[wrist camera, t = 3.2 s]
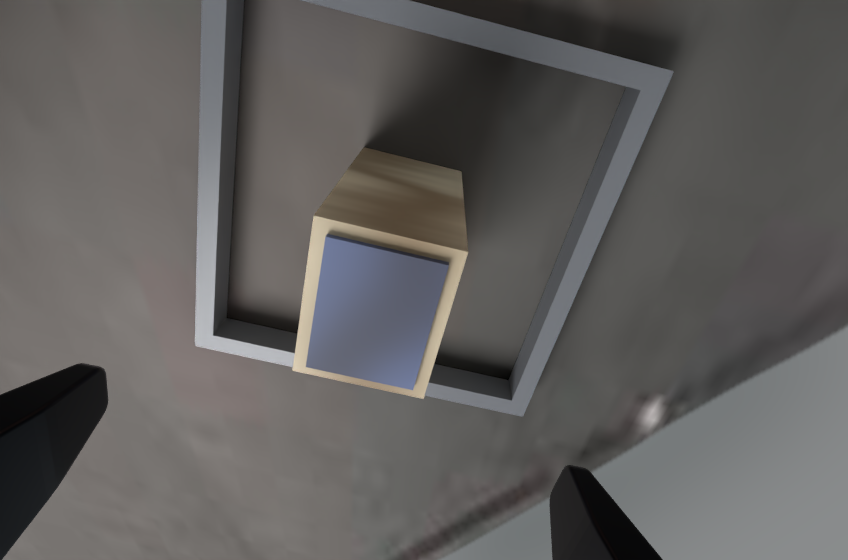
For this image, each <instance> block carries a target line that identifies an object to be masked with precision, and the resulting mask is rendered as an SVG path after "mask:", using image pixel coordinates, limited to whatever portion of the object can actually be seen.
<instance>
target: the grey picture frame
mask: <svg viewBox="0 0 848 560" xmlns="http://www.w3.org/2000/svg"><path fill="white" fill-rule="evenodd" d="M302 1H306V2H309V3H313V4H317V5H321V6H325V7H328V8H332V9H336V10H340V11H343V12H347V13H351V14H355V15H358V16H362V17H366V18H370V19H374V20H377V21H381V22H385V23H389V24H392V25H396V26H400V27H404V28H407V29H411V30H415V31H419V32H423V33H426V34H430V35H434V36H438V37H441V38H445V39H449V40H453V41H456V42H460V43H464V44H468V45H472V46H475V47H479V48H483V49H487V50H490V51H494V52H498V53H502V54H506V55H509V56H513V57H517V58H521V59H524V60H528V61H532V62H536V63H539V64H543V65H547V66H551V67H555V68H558V69H562V70H566V71H570V72H573V73H577V74H581V75H585V76H588V77H592V78H596V79H600V80H604V81H607V82H611V83H615V84H619V85H622V86H626V88H625V91H624V93H623V96H622V98H621V101H620V103H619V106H618V108H617V111H616V113H615V116H614V118H613V121H612V123H611V126H610V128H609V131H608V133H607V136H606V138H605V141H604V143H603V146H602V148H601V151H600V153H599V156H598V158H597V161H596V163H595V166H594V168H593V171H592V173H591V176H590V178H589V181H588V183H587V186H586V188H585V191H584V193H583V195H582V198H581V200H580V203H579V205H578V208H577V210H576V213H575V215H574V218H573V220H572V223H571V225H570V228H569V230H568V233H567V235H566V238H565V240H564V243H563V245H562V248H561V250H560V253H559V255H558V258H557V260H556V263H555V265H554V268H553V270H552V273H551V275H550V278H549V280H548V283H547V285H546V288H545V290H544V293H543V295H542V298H541V300H540V303H539V305H538V308H537V310H536V313H535V315H534V318H533V320H532V323H531V325H530V328H529V330H528V333H527V335H526V338H525V340H524V343H523V345H522V348H521V350H520V353H519V355H518V358H517V360H516V363H515V365H514V368H513V370H512V373H511V375H510V377H509V380H505V379H501V378H496V377H492V376H487V375H483V374H478V373H474V372H469V371H465V370H460V369H456V368H451V367H446V366H442V365H437V364H434V366H433V369H432V372H431V376H430V379H429V382H428V385H427V389H426V392H425V396H429V397H434V398H439V399H443V400H448V401H452V402H457V403H462V404H466V405H471V406H476V407H480V408H485V409H489V410H494V411H499V412H503V413H508V414H513V415H517V416H522V417H523V415H524V413H525V410H526V408H527V406H528V404H529V401H530V399H531V397H532V394H533V392H534V390H535V388H536V385H537V383H538V381H539V378H540V376H541V374H542V372H543V369H544V367H545V365H546V362H547V360H548V358H549V356H550V353H551V351H552V349H553V346H554V344H555V342H556V340H557V337H558V335H559V333H560V330H561V328H562V326H563V324H564V321H565V319H566V317H567V314H568V312H569V310H570V308H571V305H572V303H573V301H574V299H575V296H576V294H577V292H578V289H579V287H580V285H581V283H582V280H583V278H584V276H585V273H586V271H587V269H588V267H589V264H590V262H591V260H592V257H593V255H594V253H595V251H596V248H597V246H598V244H599V241H600V239H601V237H602V235H603V232H604V230H605V228H606V225H607V223H608V221H609V219H610V216H611V214H612V212H613V209H614V207H615V205H616V203H617V200H618V198H619V196H620V193H621V191H622V189H623V187H624V184H625V182H626V180H627V177H628V175H629V173H630V171H631V168H632V166H633V164H634V161H635V159H636V157H637V155H638V152H639V150H640V148H641V146H642V143H643V141H644V139H645V136H646V134H647V132H648V130H649V127H650V125H651V123H652V120H653V118H654V116H655V114H656V111H657V109H658V107H659V104H660V102H661V100H662V98H663V95H664V93H665V91H666V88H667V86H668V84H669V82H670V79H671V77H672V75H673V72H674V71H671V70H667V69H663V68H660V67H656V66H652V65H648V64H645V63H641V62H637V61H634V60H630V59H626V58H622V57H619V56H615V55H611V54H608V53H604V52H600V51H596V50H593V49H589V48H585V47H582V46H578V45H574V44H570V43H567V42H563V41H559V40H556V39H552V38H548V37H544V36H541V35H537V34H533V33H530V32H526V31H522V30H518V29H515V28H511V27H507V26H503V25H500V24H496V23H492V22H489V21H485V20H481V19H477V18H474V17H470V16H466V15H463V14H459V13H455V12H451V11H448V10H444V9H440V8H437V7H433V6H429V5H425V4H422V3H418V2H414V1H411V0H302ZM243 11H244V0H202V16H201V66H200V116H199V165H198V215H197V265H196V315H195V346H198V347H203V348H207V349H212V350H217V351H221V352H226V353H230V354H235V355H240V356H244V357H249V358H254V359H258V360H263V361H267V362H272V363H277V364H281V365H286V366H291V367H293V363H294V356H295V348H296V341H297V333H292V332H288V331H283V330H279V329H274V328H270V327H265V326H261V325H256V324H252V323H247V322H243V321H238V320H234V319H229V318H227V301H228V283H229V265H230V247H231V229H232V211H233V192H234V174H235V156H236V138H237V120H238V102H239V84H240V66H241V47H242V29H243Z"/></svg>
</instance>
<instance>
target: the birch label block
mask: <svg viewBox="0 0 848 560" xmlns="http://www.w3.org/2000/svg"><path fill="white" fill-rule="evenodd" d="M467 254H468V244H467V232H466V219H465V207H464V195H463V183H462V171H458V170H454V169H450V168H446V167H442V166H438V165H434V164H430V163H426V162H422V161H418V160H414V159H410V158H406V157H402V156H398V155H394V154H390V153H386V152H381V151H377V150H373V149H369V148H365V147H364V148H363V149H362V150H361V152H360V153H359V155H358V156H357V157H356V159H355V160H354V161H353V163H352V164H351V165H350V167H349V168H348V170H347V171H346V172H345V174H344V175H343V176H342V178H341V179H340V180H339V182H338V183H337V185H336V186H335V187H334V189H333V190H332V191H331V193H330V194H329V195H328V197H327V198H326V200H325V201H324V202H323V204H322V205H321V206H320V208H319V209H318V210H317V212H316V213H315V215H314V217H313V225H312V232H311V239H310V246H309V254H308V261H307V268H306V276H305V283H304V290H303V297H302V305H301V312H300V319H299V327H298V334H297V341H296V348H295V356H294V363H293V370H292V371H297V372H301V373H306V374H311V375H315V376H320V377H325V378H329V379H334V380H338V381H343V382H348V383H352V384H357V385H362V386H366V387H371V388H376V389H380V390H385V391H389V392H394V393H399V394H403V395H408V396H413V397H417V398H422V399H424V395H425V392H426V389H427V385H428V382H429V379H430V376H431V372H432V369H433V366H434V363H435V359H436V356H437V353H438V349H439V346H440V343H441V340H442V336H443V333H444V330H445V326H446V323H447V320H448V317H449V313H450V310H451V307H452V304H453V300H454V297H455V294H456V290H457V287H458V284H459V281H460V277H461V274H462V271H463V268H464V264H465V261H466V258H467Z"/></svg>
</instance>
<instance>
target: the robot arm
mask: <svg viewBox="0 0 848 560" xmlns="http://www.w3.org/2000/svg"><path fill="white" fill-rule="evenodd" d="M107 405H108V391H107V380H106V372H105V370H104V369H103V368H101V367H99V366H94V365H89V364H84V363H80V364H76V365H73V366H71V367H68V368H66V369H63V370H61V371H58V372H56V373H53V374H51V375H48V376H46V377H43V378H41V379H38V380H36V381H33V382H31V383H28V384H26V385H23V386H21V387H18V388H16V389H13V390H11V391H8V392H6V393H3V394H1V395H0V560H2V559H3V558H4V556H5V555H6V554H7V552H8V551H9V550H10V548H11V547H12V546H13V545H14V543H15V542H16V541H17V539H18V538H19V537H20V536H21V534H22V533H23V532H24V530H25V529H26V528H27V527H28V525H29V524H30V523H31V521H32V520H33V519H34V517H35V516H36V515H37V514H38V512H39V511H40V510H41V508H42V507H43V506H44V505H45V503H46V502H47V501H48V499H49V498H50V497H51V495H52V494H53V493H54V491H55V490H56V489H57V487H58V486H59V484H60V483H61V481H62V480H63V478H64V477H65V475H66V474H67V472H68V470H69V469H70V467H71V466H72V464H73V462H74V461H75V459H76V458H77V456H78V454H79V453H80V451H81V450H82V448H83V446H84V445H85V443H86V442H87V440H88V438H89V437H90V435H91V434H92V432H93V430H94V429H95V427H96V426H97V424H98V422H99V421H100V419H101V418H102V416H103V414H104V413H105V411H106V408H107ZM550 520H551V539H552V557H553V560H662V558H661V557H660V556H659V555H658V553H657V552H656V551H655V550H654V549H653V547H652V546H651V545H650V544H649V543H648V541H647V540H646V539H645V538H644V536H642V534H641V533H640V532H639V530H638V529H637V528H636V527H635V526H634V524H633V523H632V522H631V521H630V519H629V518H628V517H627V516H626V515H625V513H624V512H623V511H622V510H621V509H620V508H619V506H618V505H617V504H616V503H615V501H614V500H613V499H612V498H611V496H610V495H609V494H608V493H607V492H606V491H605V489H604V488H603V487H602V486H601V484H600V483H599V482H598V481H597V480H596V478H595V477H594V476H593V475H592V473H591V472H590V471H589V470H587V469H586V468H582V467H577V466H573V465H567V466H566V467H564V469H563V470H562V472H561V474H560V476H559V478H558V480H557V482H556V484H555V486H554V488H553V490H552V492H551V495H550Z"/></svg>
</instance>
